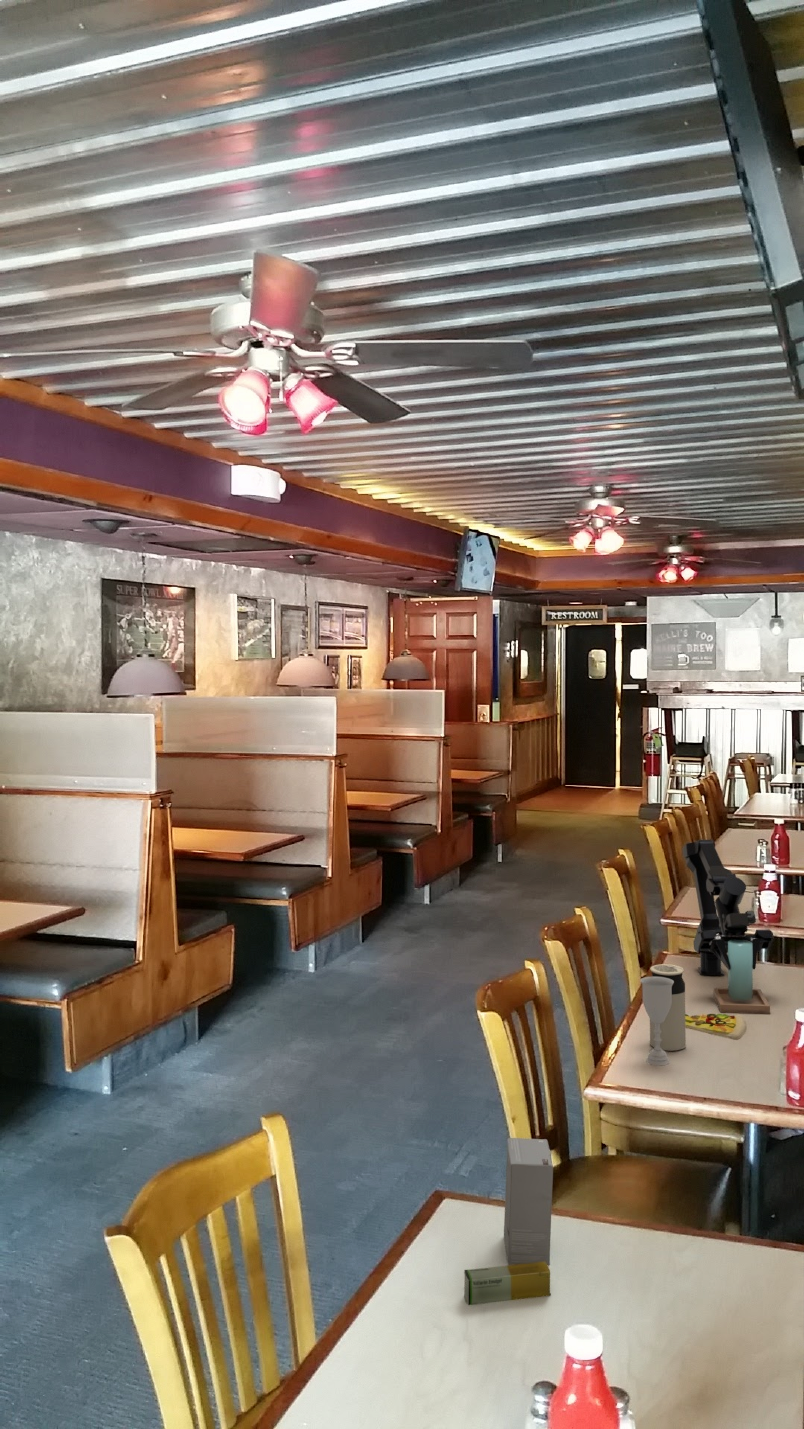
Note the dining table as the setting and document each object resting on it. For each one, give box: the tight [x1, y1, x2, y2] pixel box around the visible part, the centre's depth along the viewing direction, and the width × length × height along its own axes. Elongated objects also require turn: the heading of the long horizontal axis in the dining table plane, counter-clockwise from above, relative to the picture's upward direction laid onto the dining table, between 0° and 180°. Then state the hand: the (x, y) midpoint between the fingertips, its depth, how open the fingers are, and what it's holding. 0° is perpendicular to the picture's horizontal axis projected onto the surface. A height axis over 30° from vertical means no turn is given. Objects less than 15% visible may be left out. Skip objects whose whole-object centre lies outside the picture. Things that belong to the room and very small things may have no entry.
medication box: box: [463, 1262, 552, 1306], centre depth 147 cm, size 12×3×4 cm, turn 99°
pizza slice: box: [685, 1013, 747, 1041], centre depth 256 cm, size 16×21×3 cm
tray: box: [712, 987, 771, 1015], centre depth 270 cm, size 14×12×2 cm
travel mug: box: [649, 963, 687, 1052], centre depth 242 cm, size 8×8×18 cm
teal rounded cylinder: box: [727, 940, 754, 1000], centre depth 270 cm, size 6×6×14 cm
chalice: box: [639, 976, 674, 1066], centre depth 233 cm, size 7×7×18 cm
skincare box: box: [503, 1137, 554, 1266], centre depth 158 cm, size 8×7×16 cm
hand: (741, 968), depth 269 cm, fingers closed on teal rounded cylinder, 6 cm apart
